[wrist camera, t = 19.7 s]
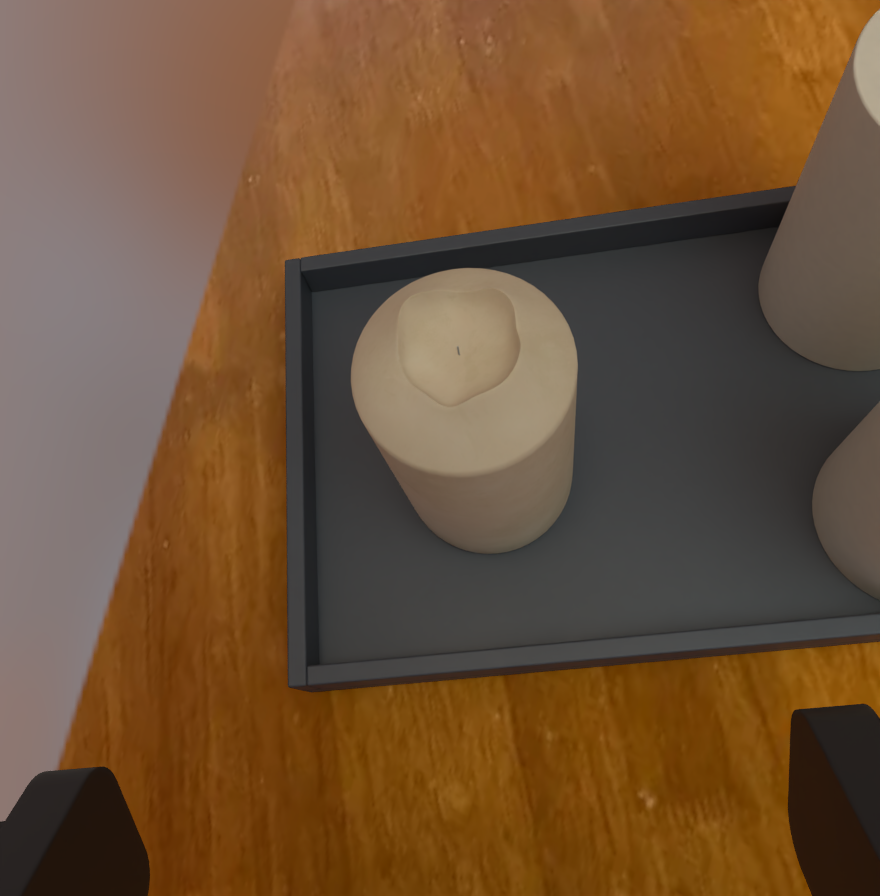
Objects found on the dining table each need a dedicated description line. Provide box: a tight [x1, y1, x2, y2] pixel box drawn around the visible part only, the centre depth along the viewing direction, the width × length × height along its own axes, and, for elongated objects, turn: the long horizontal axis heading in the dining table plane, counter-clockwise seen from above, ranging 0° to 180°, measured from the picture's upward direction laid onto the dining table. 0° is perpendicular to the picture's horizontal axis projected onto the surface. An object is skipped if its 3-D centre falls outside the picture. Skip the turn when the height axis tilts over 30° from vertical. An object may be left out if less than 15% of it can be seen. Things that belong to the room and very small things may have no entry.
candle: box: [351, 268, 578, 554], centre depth 23 cm, size 6×6×10 cm
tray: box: [285, 186, 880, 692], centre depth 27 cm, size 25×15×2 cm, turn 94°
